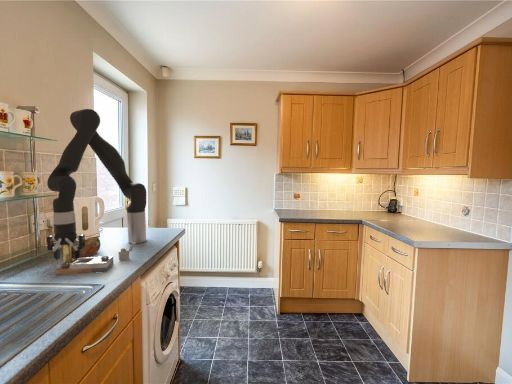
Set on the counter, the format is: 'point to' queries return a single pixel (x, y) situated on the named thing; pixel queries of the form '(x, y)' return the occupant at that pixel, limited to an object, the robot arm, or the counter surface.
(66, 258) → the pin
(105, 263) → the door latch
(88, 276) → the counter surface
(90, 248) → the tin
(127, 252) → the lighter
